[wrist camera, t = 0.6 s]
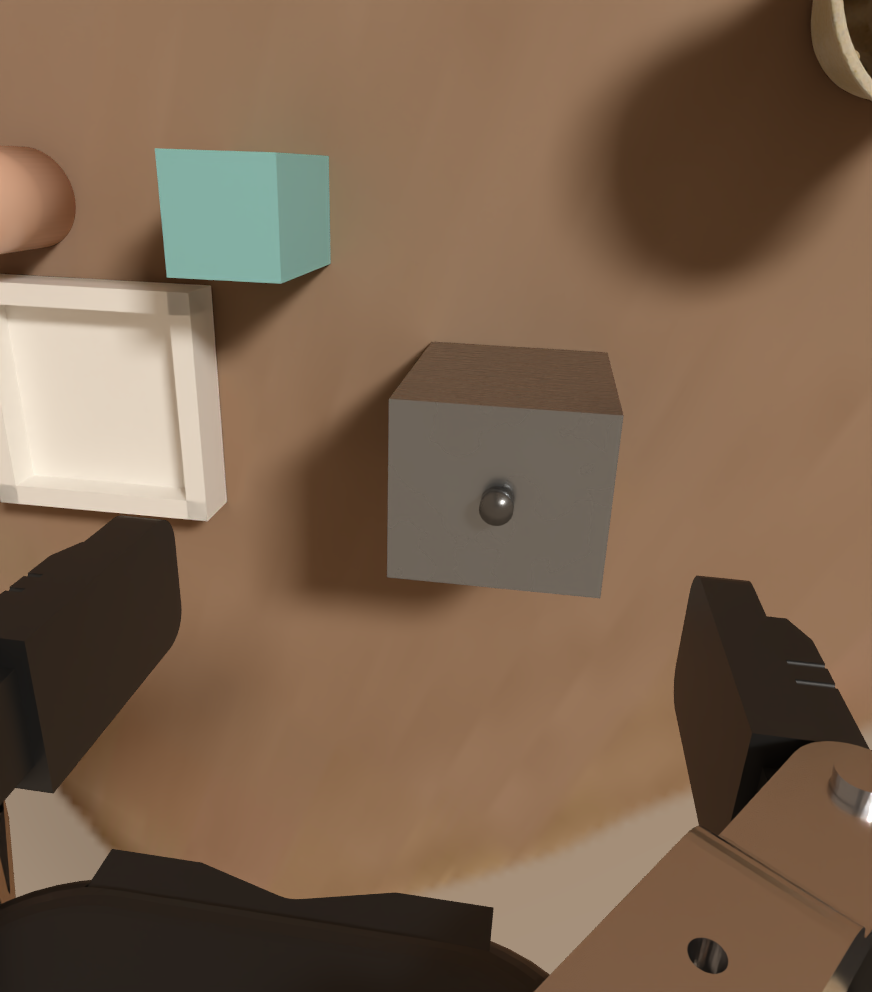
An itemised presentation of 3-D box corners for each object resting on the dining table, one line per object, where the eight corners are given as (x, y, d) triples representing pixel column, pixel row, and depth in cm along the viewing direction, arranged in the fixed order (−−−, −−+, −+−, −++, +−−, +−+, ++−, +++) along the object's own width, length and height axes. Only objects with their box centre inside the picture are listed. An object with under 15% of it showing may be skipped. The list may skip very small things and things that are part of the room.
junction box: (431, 342, 37) (384, 405, 27) (607, 353, 36) (625, 422, 26) (427, 490, 40) (382, 596, 30) (589, 504, 39) (600, 618, 29)
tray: (-6, 273, 39) (-42, 279, 36) (211, 285, 37) (188, 293, 35) (30, 484, 43) (0, 502, 41) (226, 501, 42) (207, 521, 39)
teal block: (229, 152, 35) (154, 148, 29) (328, 156, 35) (275, 152, 28) (235, 258, 37) (166, 277, 30) (330, 263, 36) (281, 283, 30)
